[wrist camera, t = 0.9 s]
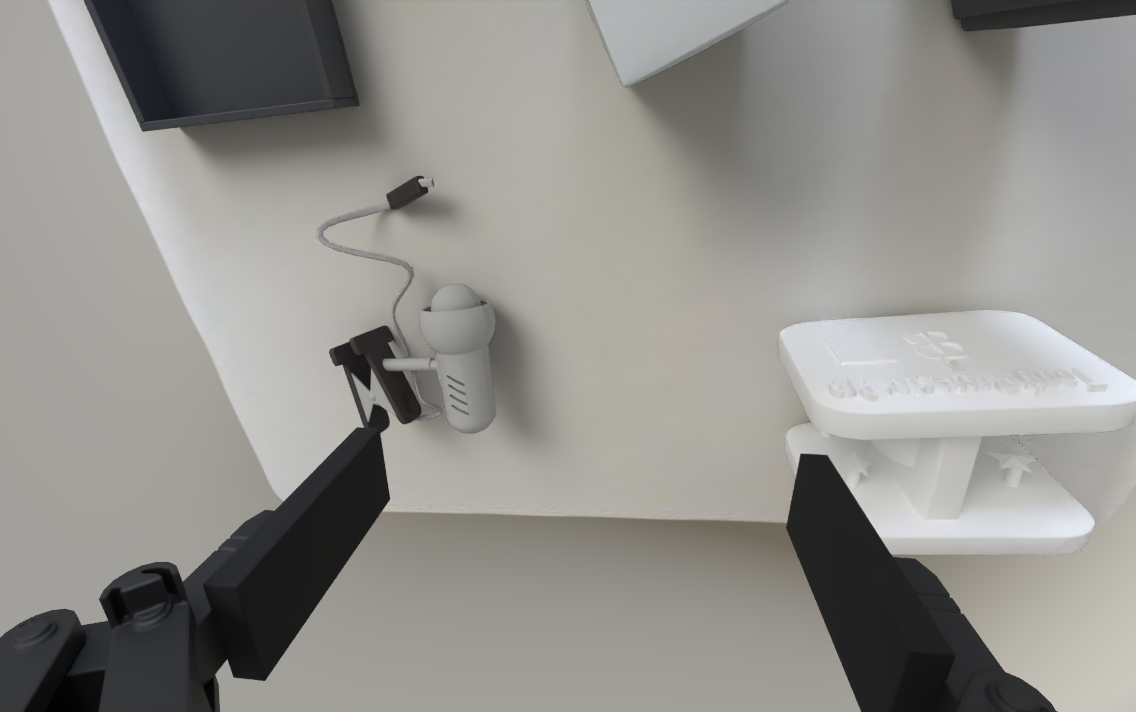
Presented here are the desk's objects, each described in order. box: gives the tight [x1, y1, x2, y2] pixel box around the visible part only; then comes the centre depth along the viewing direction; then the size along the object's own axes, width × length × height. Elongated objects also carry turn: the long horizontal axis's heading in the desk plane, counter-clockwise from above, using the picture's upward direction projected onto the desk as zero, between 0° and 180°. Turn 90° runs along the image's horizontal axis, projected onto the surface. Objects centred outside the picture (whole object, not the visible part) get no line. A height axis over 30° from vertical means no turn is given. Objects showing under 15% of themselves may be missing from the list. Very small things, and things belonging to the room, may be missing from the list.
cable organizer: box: [778, 310, 1136, 555], centre depth 32 cm, size 15×11×12 cm
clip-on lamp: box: [316, 176, 496, 434], centre depth 36 cm, size 12×6×18 cm
